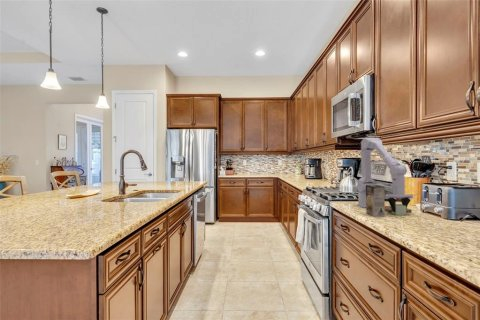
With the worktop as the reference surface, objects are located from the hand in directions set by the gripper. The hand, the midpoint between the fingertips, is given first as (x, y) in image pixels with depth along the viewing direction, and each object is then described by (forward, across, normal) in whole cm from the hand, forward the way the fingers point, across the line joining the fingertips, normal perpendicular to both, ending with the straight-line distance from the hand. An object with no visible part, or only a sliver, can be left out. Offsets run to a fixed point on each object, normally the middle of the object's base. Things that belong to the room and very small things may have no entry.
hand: (398, 211), depth 143 cm
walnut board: (+1, +3, +10) cm, 11 cm away
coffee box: (+2, -13, -1) cm, 13 cm away
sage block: (+1, 0, 0) cm, 1 cm away
